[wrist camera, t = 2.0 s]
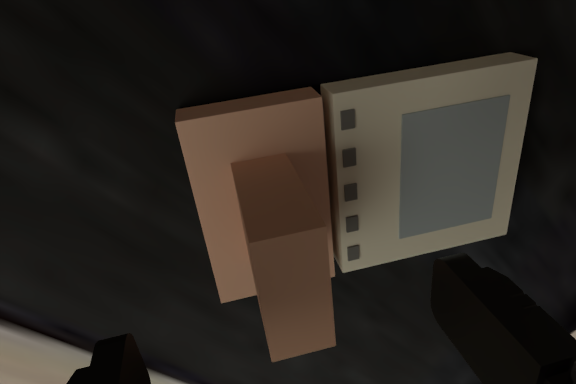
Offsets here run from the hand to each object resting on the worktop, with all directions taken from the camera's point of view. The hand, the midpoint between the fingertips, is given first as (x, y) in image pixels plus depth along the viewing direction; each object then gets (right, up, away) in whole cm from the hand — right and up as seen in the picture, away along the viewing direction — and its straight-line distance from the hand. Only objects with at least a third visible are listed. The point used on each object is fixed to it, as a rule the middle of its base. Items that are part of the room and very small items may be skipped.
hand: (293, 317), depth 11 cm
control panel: (+5, +5, +7) cm, 10 cm away
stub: (-1, +3, +6) cm, 7 cm away
